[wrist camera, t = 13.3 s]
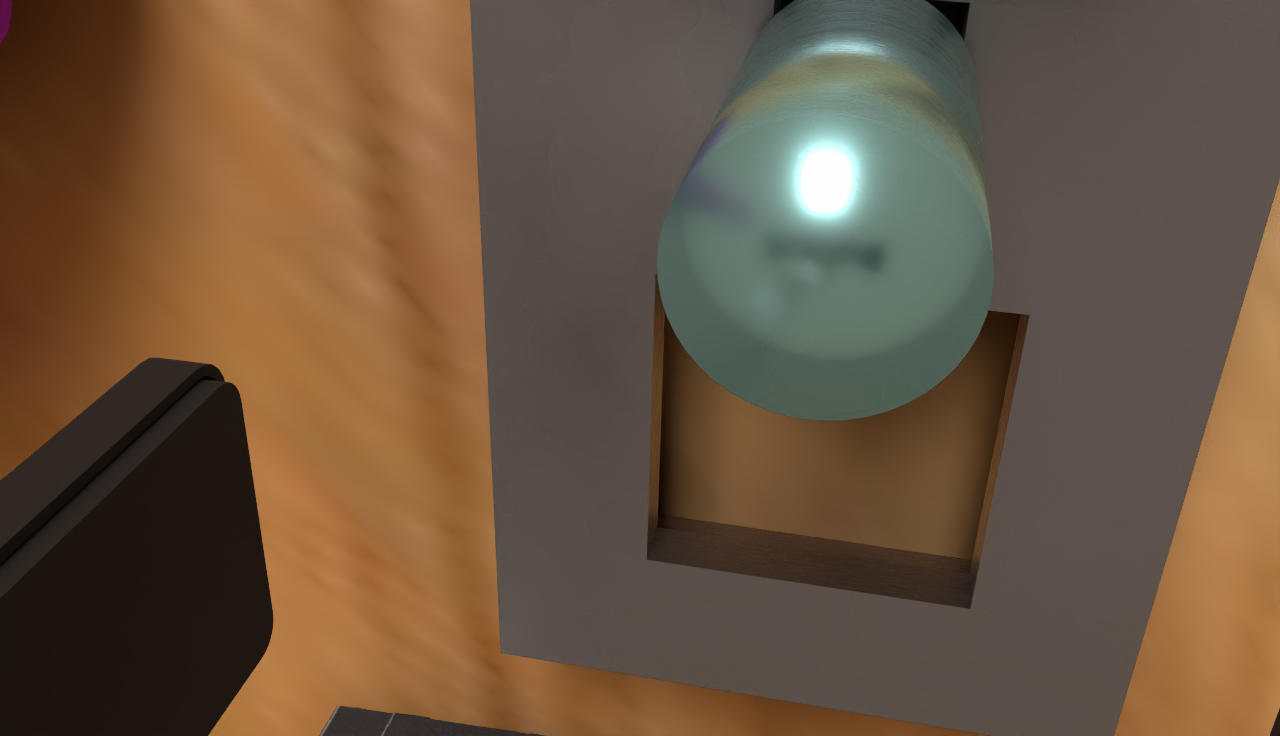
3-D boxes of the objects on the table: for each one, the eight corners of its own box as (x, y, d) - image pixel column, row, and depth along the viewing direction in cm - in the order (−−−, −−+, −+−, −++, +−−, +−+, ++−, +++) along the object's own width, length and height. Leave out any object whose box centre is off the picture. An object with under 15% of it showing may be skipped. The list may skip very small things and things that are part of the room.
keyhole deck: (1088, 629, 31) (1108, 755, 27) (548, 547, 33) (500, 653, 29) (1329, -273, 21) (1410, -261, 17) (531, -297, 23) (456, -291, 20)
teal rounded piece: (976, 161, 26) (999, 478, 16) (738, 140, 26) (615, 427, 16) (1018, -92, 23) (1078, 91, 13) (754, -106, 24) (619, 54, 14)
